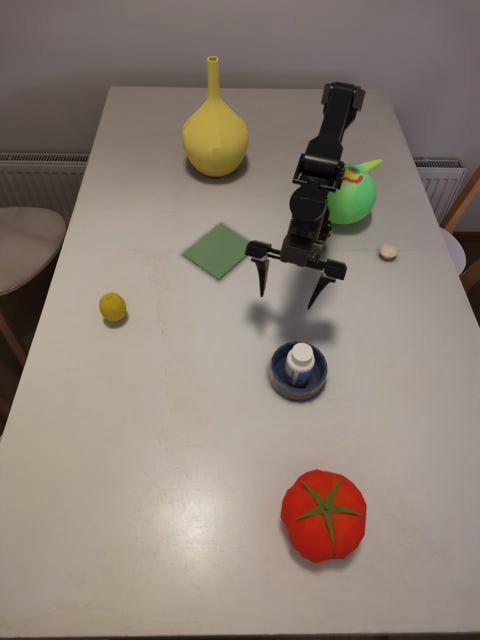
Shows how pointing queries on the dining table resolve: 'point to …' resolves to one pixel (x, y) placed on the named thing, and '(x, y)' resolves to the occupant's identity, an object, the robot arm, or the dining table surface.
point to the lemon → (112, 306)
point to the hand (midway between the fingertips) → (284, 303)
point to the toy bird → (353, 194)
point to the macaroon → (388, 252)
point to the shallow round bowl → (288, 389)
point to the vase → (215, 132)
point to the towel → (218, 251)
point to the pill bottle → (299, 364)
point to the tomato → (324, 516)
